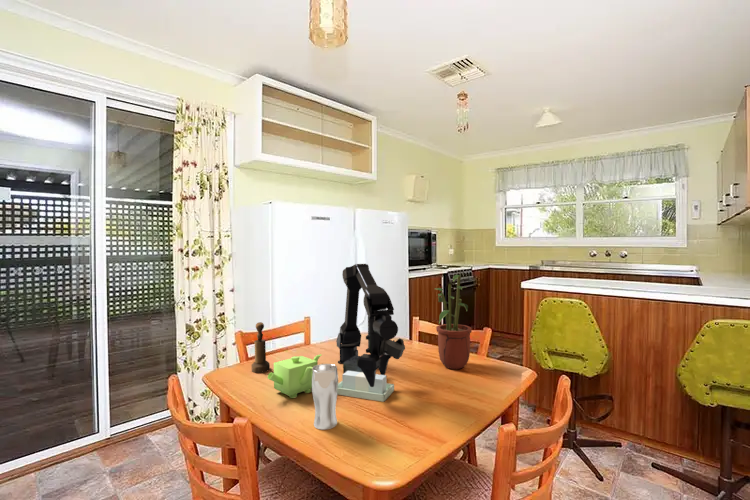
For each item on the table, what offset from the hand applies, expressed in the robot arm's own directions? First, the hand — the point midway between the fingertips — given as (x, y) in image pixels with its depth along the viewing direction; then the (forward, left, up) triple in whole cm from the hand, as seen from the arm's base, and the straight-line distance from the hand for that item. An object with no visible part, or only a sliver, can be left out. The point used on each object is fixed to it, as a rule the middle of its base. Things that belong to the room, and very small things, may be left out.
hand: (377, 381), depth 119 cm
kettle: (-25, -7, -4) cm, 26 cm away
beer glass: (-6, -23, -4) cm, 24 cm away
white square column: (-4, 0, -4) cm, 6 cm away
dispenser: (-11, +10, -4) cm, 15 cm away
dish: (-5, 0, -4) cm, 6 cm away
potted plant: (+15, +34, -4) cm, 37 cm away
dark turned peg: (-50, +6, -4) cm, 50 cm away
